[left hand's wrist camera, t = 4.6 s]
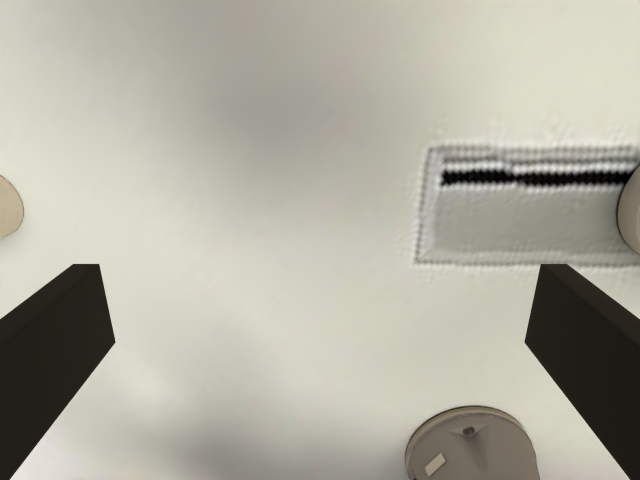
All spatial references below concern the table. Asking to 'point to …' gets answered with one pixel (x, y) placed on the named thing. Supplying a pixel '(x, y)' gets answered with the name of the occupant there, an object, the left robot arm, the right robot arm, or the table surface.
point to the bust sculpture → (630, 212)
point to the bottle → (9, 208)
